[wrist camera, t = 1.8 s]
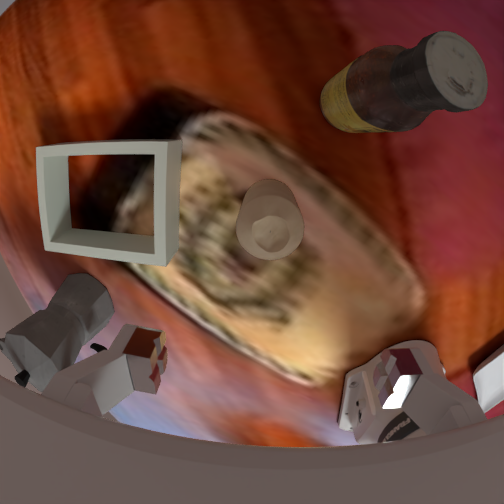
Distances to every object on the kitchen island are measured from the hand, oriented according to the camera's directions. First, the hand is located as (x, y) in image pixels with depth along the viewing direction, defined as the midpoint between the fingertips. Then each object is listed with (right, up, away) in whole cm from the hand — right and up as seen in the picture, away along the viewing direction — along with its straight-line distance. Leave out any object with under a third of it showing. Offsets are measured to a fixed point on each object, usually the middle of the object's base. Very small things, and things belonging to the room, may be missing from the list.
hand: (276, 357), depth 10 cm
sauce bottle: (+9, +19, +17) cm, 27 cm away
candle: (+1, +9, +22) cm, 24 cm away
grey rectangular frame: (-17, +11, +22) cm, 30 cm away
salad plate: (+52, -18, +31) cm, 64 cm away
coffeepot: (-23, -3, +28) cm, 37 cm away
